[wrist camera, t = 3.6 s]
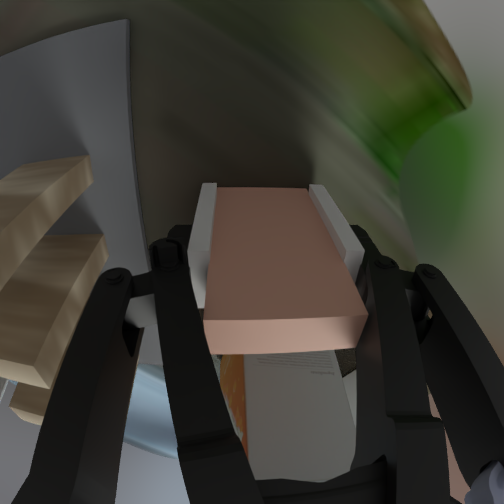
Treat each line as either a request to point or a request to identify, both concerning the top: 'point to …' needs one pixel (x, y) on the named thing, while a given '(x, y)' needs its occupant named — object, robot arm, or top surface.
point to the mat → (81, 137)
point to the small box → (290, 414)
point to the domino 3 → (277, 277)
